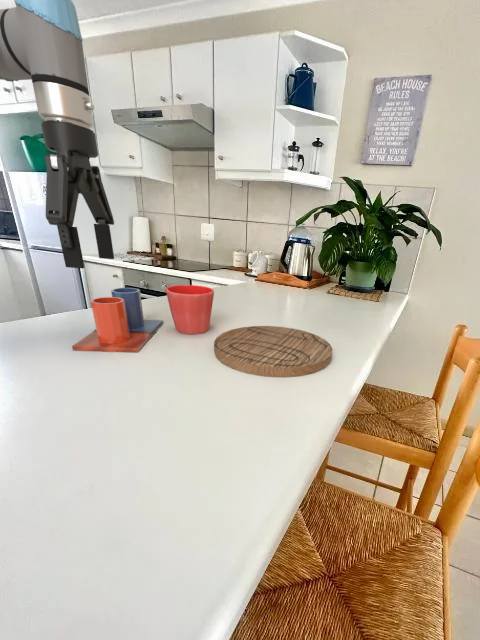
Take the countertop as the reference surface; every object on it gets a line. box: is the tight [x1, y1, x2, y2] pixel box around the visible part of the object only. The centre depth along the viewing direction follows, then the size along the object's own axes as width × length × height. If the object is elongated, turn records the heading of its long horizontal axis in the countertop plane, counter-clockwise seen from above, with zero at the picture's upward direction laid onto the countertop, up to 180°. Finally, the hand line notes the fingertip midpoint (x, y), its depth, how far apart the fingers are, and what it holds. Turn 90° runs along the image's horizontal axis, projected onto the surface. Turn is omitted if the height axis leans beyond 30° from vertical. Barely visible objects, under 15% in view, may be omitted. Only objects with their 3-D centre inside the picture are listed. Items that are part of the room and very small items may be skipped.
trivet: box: [213, 325, 334, 378], centre depth 69 cm, size 25×25×2 cm
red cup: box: [90, 296, 130, 344], centre depth 65 cm, size 6×6×8 cm
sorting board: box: [71, 319, 164, 353], centre depth 71 cm, size 12×20×1 cm, turn 5°
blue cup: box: [110, 287, 145, 329], centre depth 74 cm, size 6×6×8 cm
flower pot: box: [165, 284, 215, 335], centre depth 76 cm, size 11×11×10 cm
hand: (92, 262), depth 62 cm, fingers open, 13 cm apart
